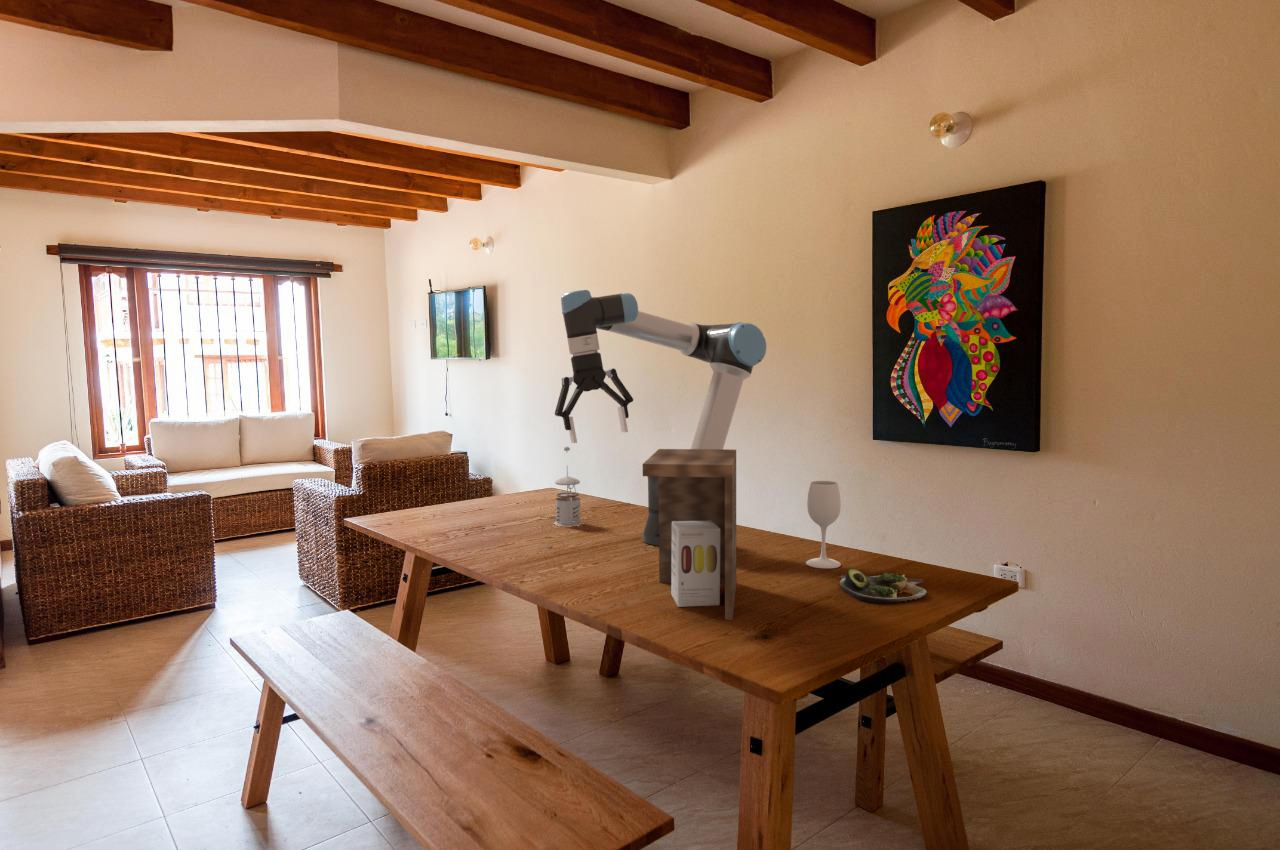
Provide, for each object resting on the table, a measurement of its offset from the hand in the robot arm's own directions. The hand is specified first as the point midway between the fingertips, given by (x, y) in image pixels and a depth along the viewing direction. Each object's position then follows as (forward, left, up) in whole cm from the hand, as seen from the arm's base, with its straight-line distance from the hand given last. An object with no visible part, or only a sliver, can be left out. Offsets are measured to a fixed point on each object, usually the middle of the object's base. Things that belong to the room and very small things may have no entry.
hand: (599, 437), depth 196 cm
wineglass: (-50, +26, -33) cm, 65 cm away
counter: (-7, +34, -33) cm, 48 cm away
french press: (-11, -52, -33) cm, 63 cm away
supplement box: (-7, +35, -33) cm, 49 cm away
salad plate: (-46, +50, -34) cm, 76 cm away
